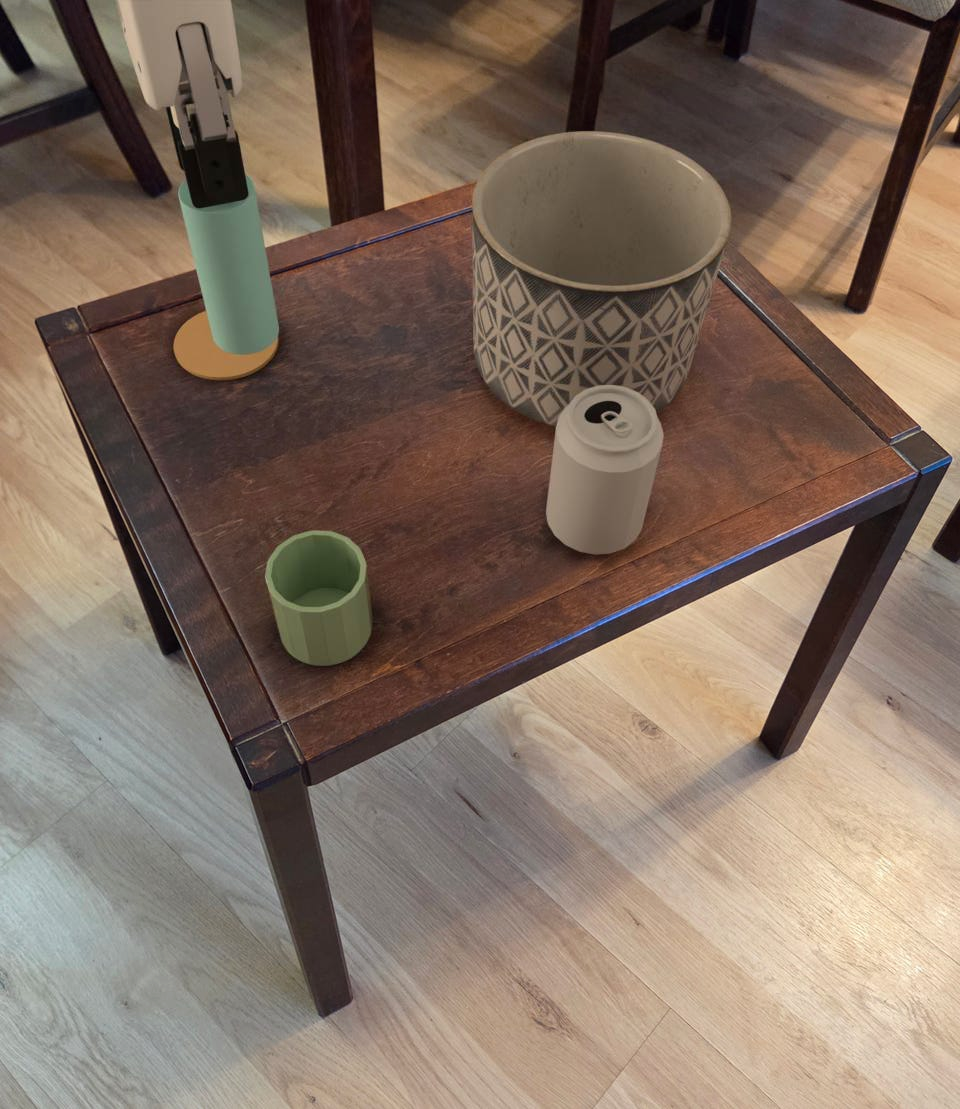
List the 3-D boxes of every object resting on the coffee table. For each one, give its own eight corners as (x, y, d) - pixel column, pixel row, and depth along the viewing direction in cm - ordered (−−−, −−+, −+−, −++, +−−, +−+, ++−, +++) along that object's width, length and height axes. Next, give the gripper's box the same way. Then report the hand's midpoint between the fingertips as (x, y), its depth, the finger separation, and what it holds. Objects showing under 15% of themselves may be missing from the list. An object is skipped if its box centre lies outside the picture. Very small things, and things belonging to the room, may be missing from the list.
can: (603, 471, 85) (623, 361, 75) (661, 535, 81) (690, 428, 71) (526, 509, 82) (536, 400, 72) (582, 576, 78) (601, 471, 69)
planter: (468, 448, 86) (472, 287, 72) (468, 291, 97) (471, 128, 84) (704, 450, 86) (750, 291, 73) (676, 294, 97) (712, 132, 84)
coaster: (186, 391, 89) (185, 387, 88) (165, 322, 94) (164, 319, 93) (290, 365, 91) (289, 362, 90) (264, 300, 96) (263, 296, 95)
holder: (293, 678, 73) (280, 624, 67) (269, 603, 76) (254, 546, 71) (384, 649, 74) (378, 594, 69) (356, 577, 78) (349, 519, 72)
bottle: (220, 361, 69) (162, 122, 55) (206, 318, 71) (147, 78, 57) (286, 346, 70) (245, 107, 56) (270, 304, 72) (228, 65, 58)
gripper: (29, -240, 50) (126, 118, 65) (74, -91, 41) (175, 284, 56) (187, -256, 51) (246, 97, 66) (264, -116, 43) (313, 255, 57)
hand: (213, 180), depth 61 cm, fingers closed on bottle, 3 cm apart
